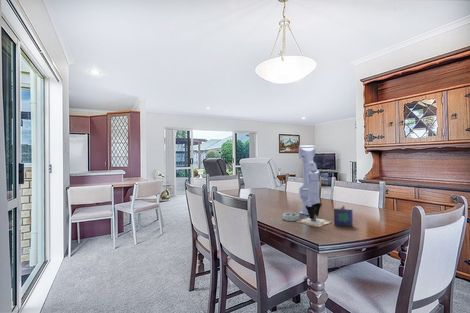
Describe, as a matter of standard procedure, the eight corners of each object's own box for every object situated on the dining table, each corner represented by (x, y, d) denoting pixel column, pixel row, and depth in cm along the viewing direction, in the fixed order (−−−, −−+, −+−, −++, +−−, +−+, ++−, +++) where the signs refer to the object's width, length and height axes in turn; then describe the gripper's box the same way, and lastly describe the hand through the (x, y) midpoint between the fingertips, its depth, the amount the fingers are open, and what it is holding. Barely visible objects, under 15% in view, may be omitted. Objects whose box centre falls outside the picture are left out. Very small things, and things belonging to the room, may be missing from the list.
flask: (352, 225, 134) (352, 205, 134) (353, 227, 131) (353, 206, 131) (333, 224, 136) (333, 204, 136) (334, 225, 134) (334, 205, 133)
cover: (308, 218, 148) (307, 211, 148) (325, 220, 142) (325, 213, 142) (301, 222, 140) (301, 214, 140) (319, 225, 134) (319, 217, 134)
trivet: (310, 217, 151) (310, 217, 151) (332, 222, 140) (332, 221, 140) (296, 222, 142) (296, 221, 142) (317, 227, 131) (317, 226, 131)
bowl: (290, 216, 155) (289, 212, 155) (302, 219, 148) (302, 214, 148) (280, 219, 149) (280, 214, 149) (292, 222, 142) (292, 217, 142)
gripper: (311, 190, 149) (311, 213, 149) (301, 194, 137) (302, 219, 137) (323, 191, 145) (323, 215, 145) (314, 195, 133) (315, 220, 133)
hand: (314, 217), depth 141 cm, fingers open, 7 cm apart
